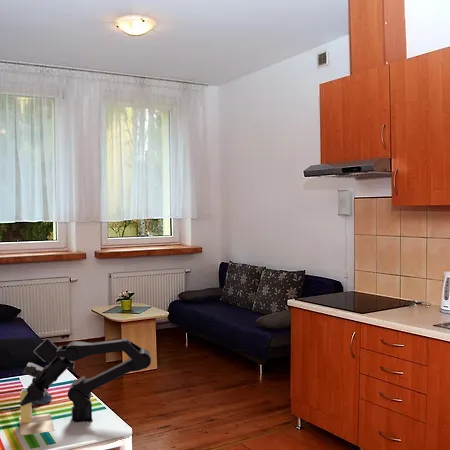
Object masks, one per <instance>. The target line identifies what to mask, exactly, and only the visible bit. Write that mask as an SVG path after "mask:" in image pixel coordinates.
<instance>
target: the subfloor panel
mask: <svg viewBox="0 0 450 450" xmlns="http://www.w3.org/2000/svg"><path fill="white" fill-rule="evenodd" d="M18 421H19V429H20V430H19V432H20V436H27V435H33V434H40V433H47V432H49V433H50V432H55V431H56V430H55V427H54V423H53V420H52V415H51V413H42V414H36V415H32V419H31V422H30V423H22V424H21V416H20V417H18Z"/></svg>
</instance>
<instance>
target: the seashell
mask: <svg viewBox="0 0 450 450" xmlns="http://www.w3.org/2000/svg"><path fill="white" fill-rule="evenodd" d="M51 400H53V396H52V395H51V393H49V391H48V390H46V389H45V396H44V398H43V399H42V400H41V401H38V400H36V401H34V402H32V406H36V405H45V404H47V403H49V402H50V401H51Z"/></svg>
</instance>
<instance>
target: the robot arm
mask: <svg viewBox="0 0 450 450" xmlns="http://www.w3.org/2000/svg"><path fill="white" fill-rule="evenodd" d="M116 352H117V353H118V352H123V353H125V354H126V356H128V358H127V359H126V360H124V361H123V362H120V363H118V364H116V365H114V366H112V367H110V368H108V369H106V370H104V371H102V372H100V373H98V374H96V375H94V376H92V377H89V378H86V376H85V375H82V376H81V377H79V378H78V379H74V380H73V382H72V383H71V384H70V385H69V386H70V387H69V388H68V391H67V397H68V399H69V401H71V402H72V404H73V405H72V407H71V420H72V421H73V423H74V424H75V423H81V422H82V423H83V422H84V423H89V422H93V421H94V420H93V410H92V409H93V408H92V407H93V405H92V404H93V403H92V400H91V398H92V392H93V391H95V390H96V389H98V388H100V387H102V386H104V385H106V384H108V383H111V382H113V381H114V380H117V379H118V378H120V377H122V376H124V375H127V374H128V373H132V372H139V371H141V370H145V369H147V368H148V367H150V365H151V362H152V355H151V352H150V350H148V349H146V348H141V346H139V345H138V344H136V343H133V341H131V340H130V339H129V338H127V337H126V338H125V337H124V338H121V339H120V338H119V339H114V340H104V341H94V342H86V341H79V340H78V341H76V340H73V341H71V342H69V343H68V344H65V345H59V346H57V345H56V344H54V342H53V341H52V340H51V339H50V338H49V337H48V338H46V339H45V340H44V341H43V342H41V343H40V344H39V345H38V346H37V347H36V348H35V349H34V350H33V353H34V354H35V355H36V356H38V357H39V359H41V361H43V362H44V363H45V362H46V363H49V364H47V365H45V366H44V367H43V366H40V365H38V364H36V363H34V362H29V361H28V363H26V366H25V368H24V370H23V374H24V375H28V376H29V377H32V381H31V383H29V385H28V386H27V387H26V388H27V391H28V393H27V395H26V396H25V397H24V399H23V400H22V402H21V403H19V405H20V407H21V406H24V405H26V404H29V403H31V402H34V401H36V400H38V401H41V400H42V399H43V398H44V396H45V390H46V391H48V390H49V388H50V387H51V386H52V385H53V384H54V383H55V382H56V381H58V380H59V377H60V376H61V375H62V374H63V373H64V372H66V370H68V369H70V371H74V370H75V364H76V361H78V360H81V359H85V358H87V357H89V356H93V355H101V354H102V355H103V354H107V353H108V354H110V353H111V354H112V353H116Z"/></svg>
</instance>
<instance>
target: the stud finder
mask: <svg viewBox="0 0 450 450" xmlns="http://www.w3.org/2000/svg"><path fill="white" fill-rule="evenodd" d="M27 388H28V387H26V388H22V389H21V391H20V393H19V400H20V403H21V402H22V400H23V399H24V397H25V396H26V395H27V393H28V391H27ZM20 403H19V404H20ZM32 407H33V405H32V402H31V403H29V404H26V405H24V406H21V405H20V417H21V424H22V423H30V422H31V419H32V416H33V410H32V409H33V408H32Z"/></svg>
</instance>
